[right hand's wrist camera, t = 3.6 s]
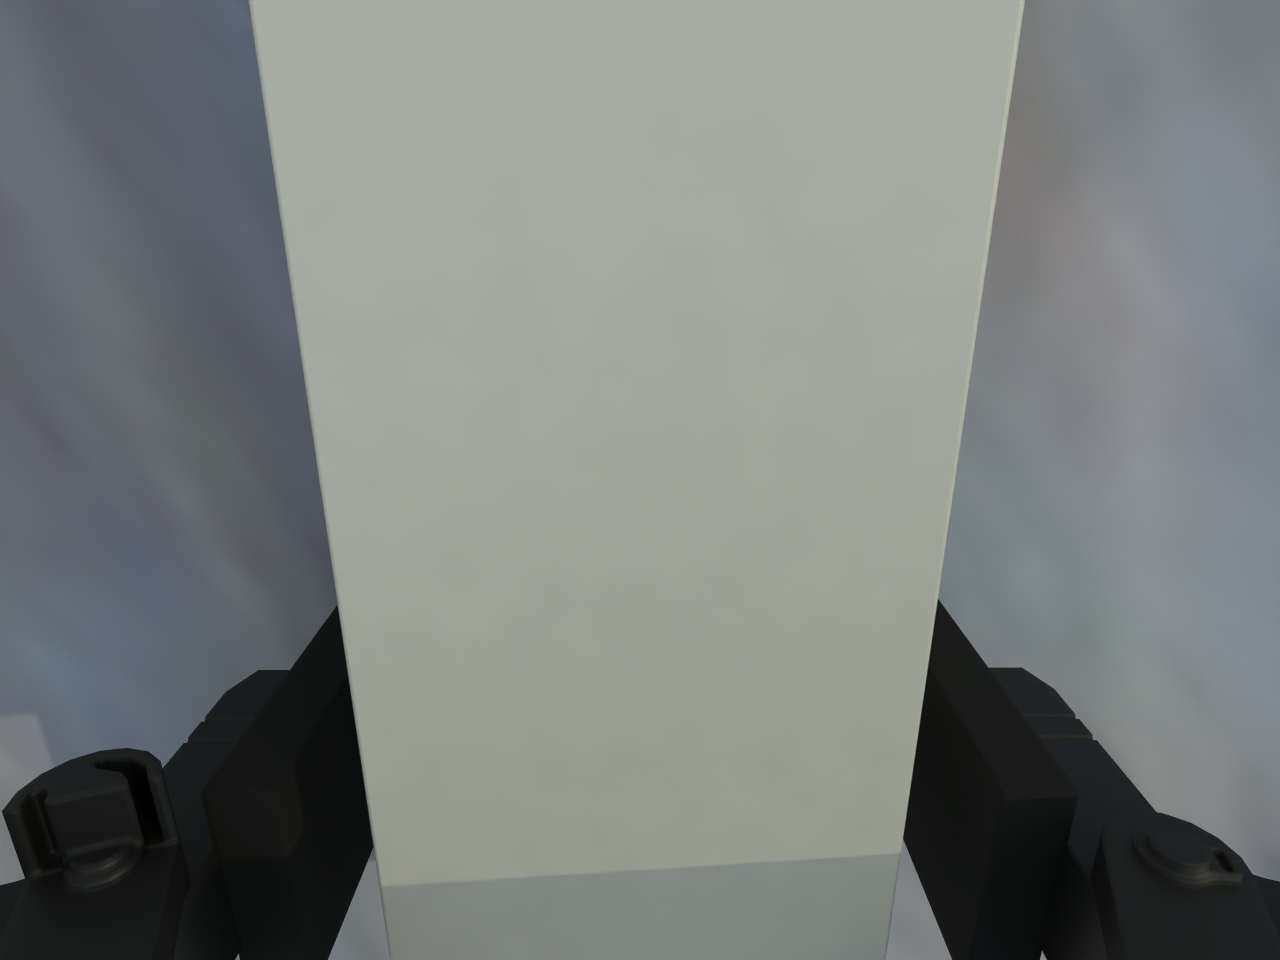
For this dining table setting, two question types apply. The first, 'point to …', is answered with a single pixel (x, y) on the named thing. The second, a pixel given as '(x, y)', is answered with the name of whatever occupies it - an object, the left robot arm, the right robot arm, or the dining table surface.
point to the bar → (637, 444)
